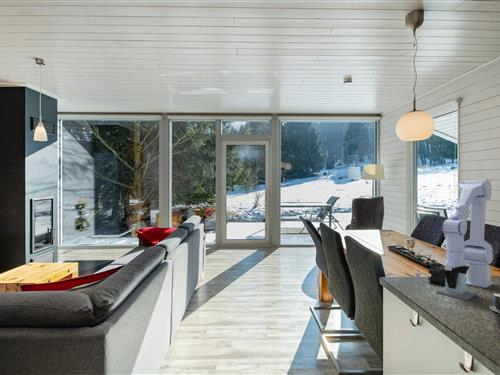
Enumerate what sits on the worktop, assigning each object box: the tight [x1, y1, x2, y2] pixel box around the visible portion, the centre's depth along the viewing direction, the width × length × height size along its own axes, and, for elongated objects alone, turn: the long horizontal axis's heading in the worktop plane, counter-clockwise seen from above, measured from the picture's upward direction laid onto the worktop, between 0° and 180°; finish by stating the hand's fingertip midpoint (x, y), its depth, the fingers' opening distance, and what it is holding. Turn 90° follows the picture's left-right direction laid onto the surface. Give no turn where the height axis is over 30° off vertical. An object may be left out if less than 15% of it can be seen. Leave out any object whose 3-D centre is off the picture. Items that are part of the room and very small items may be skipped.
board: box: [435, 286, 477, 301], centre depth 117 cm, size 10×10×1 cm
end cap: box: [428, 264, 445, 286], centre depth 131 cm, size 10×7×7 cm
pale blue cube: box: [444, 273, 467, 294], centre depth 117 cm, size 5×5×7 cm
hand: (456, 286), depth 117 cm, fingers open, 7 cm apart
